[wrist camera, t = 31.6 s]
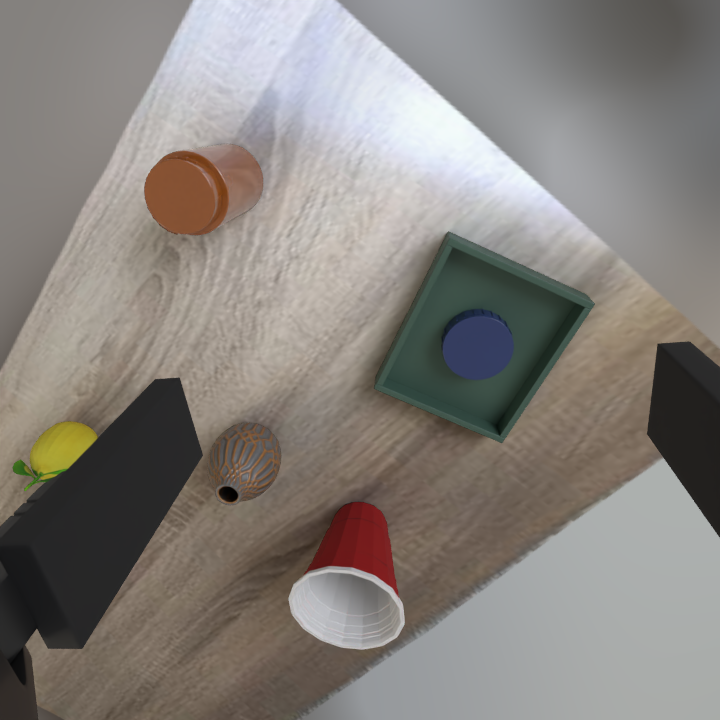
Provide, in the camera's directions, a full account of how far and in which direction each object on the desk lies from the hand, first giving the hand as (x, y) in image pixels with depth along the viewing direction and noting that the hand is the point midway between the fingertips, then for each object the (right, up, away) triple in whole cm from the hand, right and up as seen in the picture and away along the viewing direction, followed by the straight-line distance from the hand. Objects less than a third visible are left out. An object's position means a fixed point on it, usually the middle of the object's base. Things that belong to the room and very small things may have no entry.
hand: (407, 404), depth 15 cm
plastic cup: (-1, -17, +44) cm, 47 cm away
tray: (+9, +3, +33) cm, 35 cm away
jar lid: (+9, +2, +32) cm, 33 cm away
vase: (-12, -7, +41) cm, 43 cm away
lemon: (-31, -6, +42) cm, 53 cm away
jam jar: (-12, +16, +30) cm, 36 cm away
